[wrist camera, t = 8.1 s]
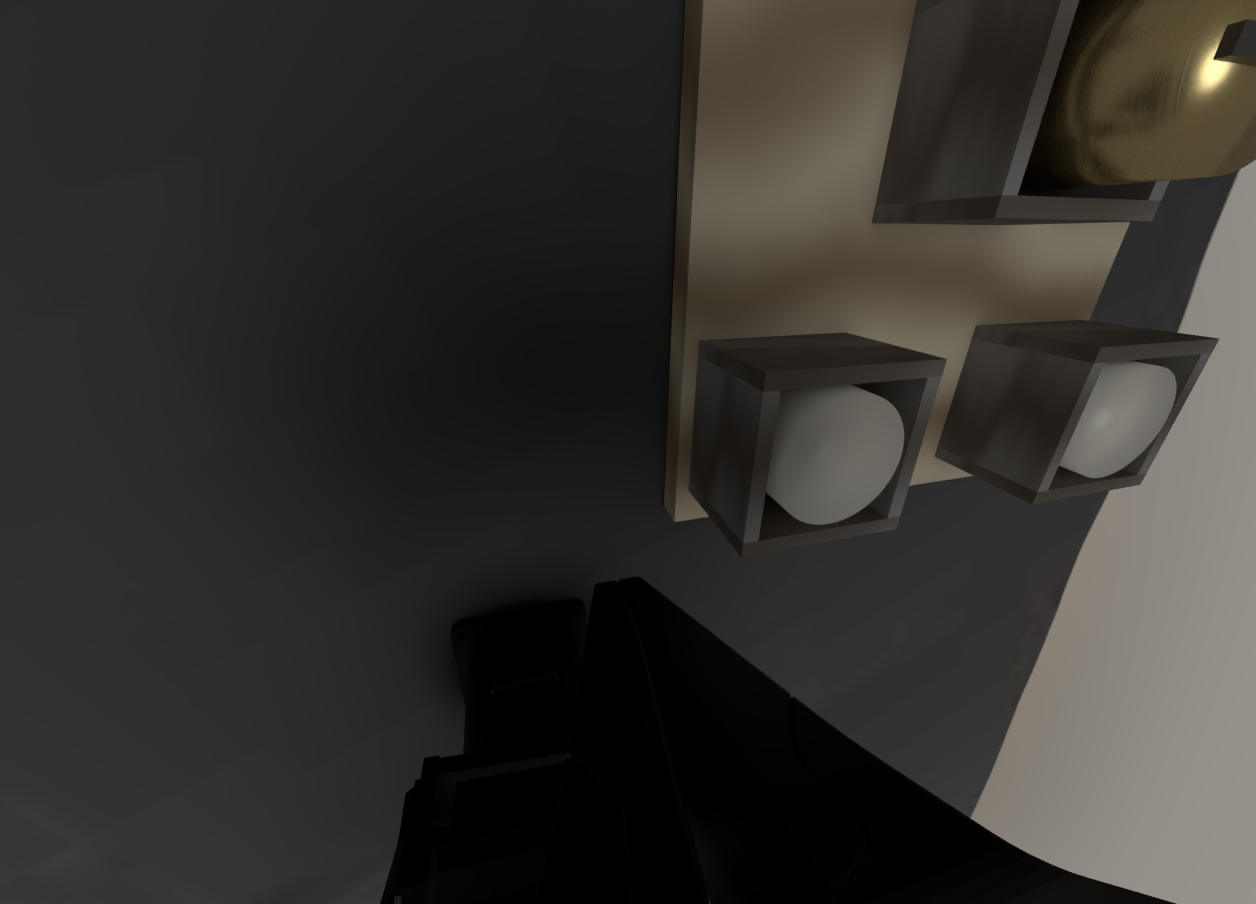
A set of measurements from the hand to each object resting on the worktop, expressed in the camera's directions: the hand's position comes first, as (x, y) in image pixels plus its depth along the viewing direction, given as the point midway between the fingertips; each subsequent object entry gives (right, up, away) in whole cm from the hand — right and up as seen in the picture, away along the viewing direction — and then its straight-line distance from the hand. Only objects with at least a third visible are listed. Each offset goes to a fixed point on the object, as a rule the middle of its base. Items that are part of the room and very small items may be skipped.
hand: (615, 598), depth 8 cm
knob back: (+20, +6, +15) cm, 26 cm away
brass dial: (+14, +14, +7) cm, 21 cm away
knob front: (+6, +4, +12) cm, 14 cm away
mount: (+13, +10, +13) cm, 21 cm away
